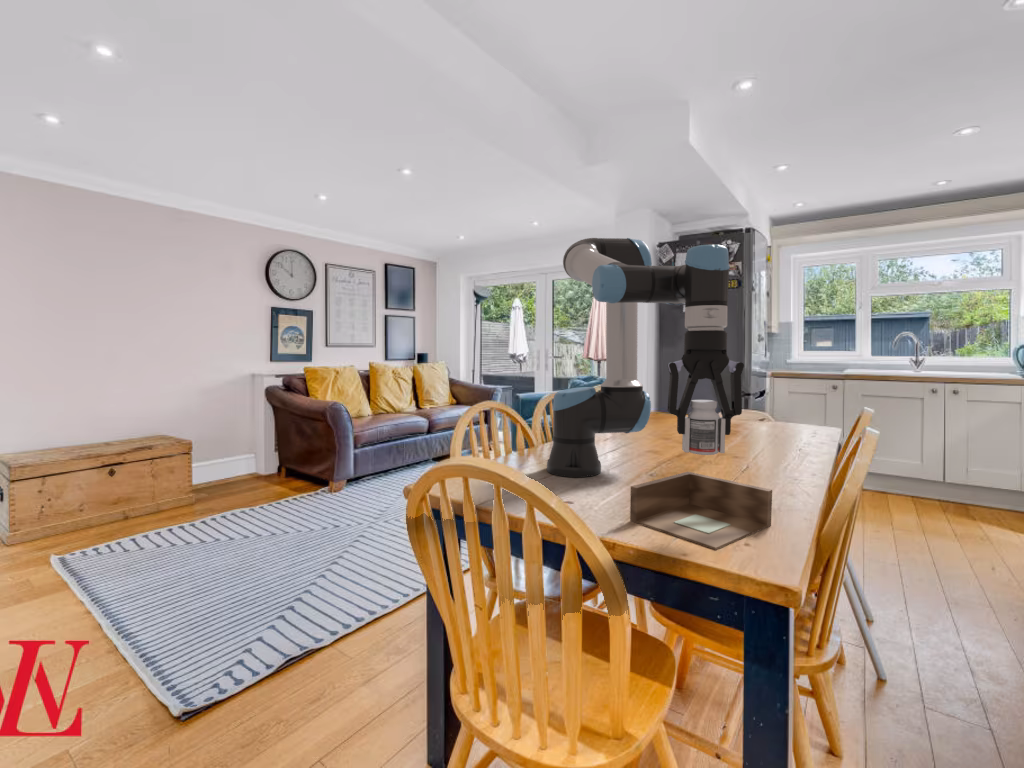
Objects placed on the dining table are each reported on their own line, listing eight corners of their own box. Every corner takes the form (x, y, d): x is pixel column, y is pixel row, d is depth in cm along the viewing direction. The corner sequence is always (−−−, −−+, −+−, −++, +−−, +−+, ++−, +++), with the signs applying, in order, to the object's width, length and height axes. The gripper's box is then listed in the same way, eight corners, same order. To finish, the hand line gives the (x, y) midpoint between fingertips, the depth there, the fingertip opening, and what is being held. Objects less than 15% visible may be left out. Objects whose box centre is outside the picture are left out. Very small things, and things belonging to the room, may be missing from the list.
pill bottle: (697, 448, 100) (698, 398, 100) (724, 452, 96) (726, 401, 95) (681, 452, 97) (682, 400, 96) (709, 456, 92) (710, 403, 92)
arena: (630, 520, 101) (630, 486, 100) (687, 502, 113) (687, 471, 112) (716, 549, 86) (717, 509, 86) (771, 525, 98) (772, 489, 97)
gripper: (657, 329, 92) (655, 454, 94) (765, 328, 90) (761, 456, 92) (651, 331, 100) (650, 446, 101) (751, 330, 97) (748, 448, 99)
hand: (703, 451), depth 96 cm, fingers closed on pill bottle, 6 cm apart
